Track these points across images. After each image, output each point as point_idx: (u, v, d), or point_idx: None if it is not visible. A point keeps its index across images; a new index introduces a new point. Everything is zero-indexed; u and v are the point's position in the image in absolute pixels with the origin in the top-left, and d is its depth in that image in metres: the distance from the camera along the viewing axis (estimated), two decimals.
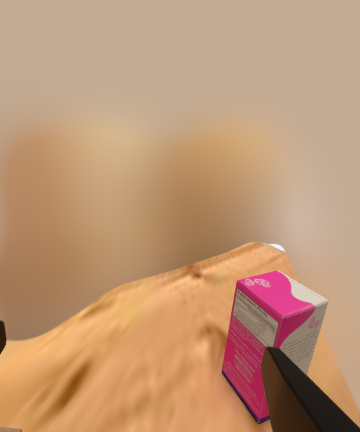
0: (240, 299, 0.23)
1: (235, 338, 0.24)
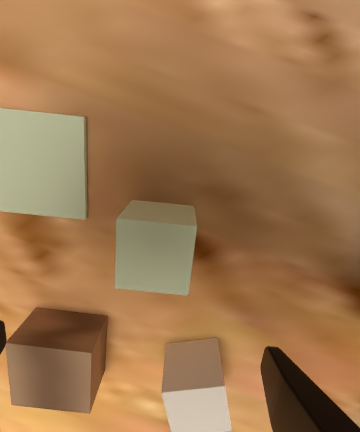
0: None
1: None
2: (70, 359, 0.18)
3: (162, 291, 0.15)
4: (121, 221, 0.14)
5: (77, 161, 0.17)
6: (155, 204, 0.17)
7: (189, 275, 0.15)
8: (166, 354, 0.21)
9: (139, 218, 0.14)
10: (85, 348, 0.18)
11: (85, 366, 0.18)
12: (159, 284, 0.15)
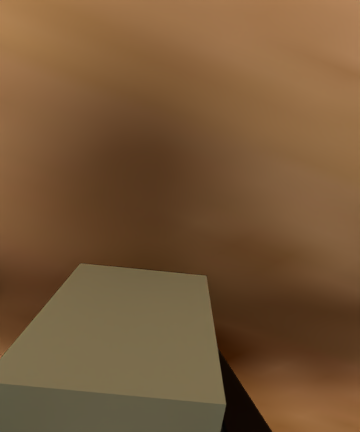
0: None
1: None
2: None
3: None
4: None
5: None
6: (124, 279, 0.08)
7: None
8: None
9: (59, 366, 0.05)
10: None
11: None
12: None
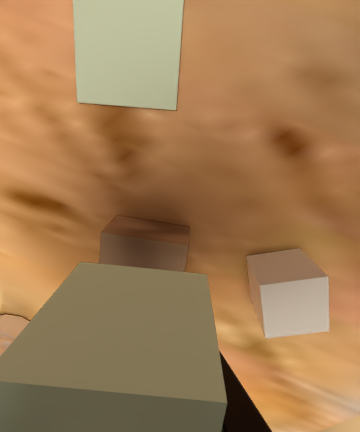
0: None
1: None
2: (166, 253, 0.17)
3: None
4: None
5: (173, 41, 0.16)
6: (125, 278, 0.08)
7: None
8: (250, 262, 0.20)
9: (59, 364, 0.05)
10: (181, 242, 0.17)
11: (180, 261, 0.17)
12: None
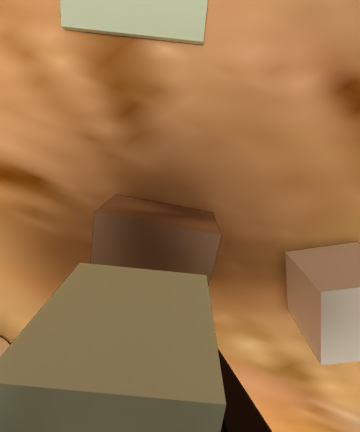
0: None
1: None
2: (188, 245, 0.12)
3: None
4: None
5: None
6: (124, 279, 0.08)
7: None
8: (294, 260, 0.15)
9: (57, 366, 0.05)
10: (209, 230, 0.12)
11: (207, 258, 0.12)
12: None
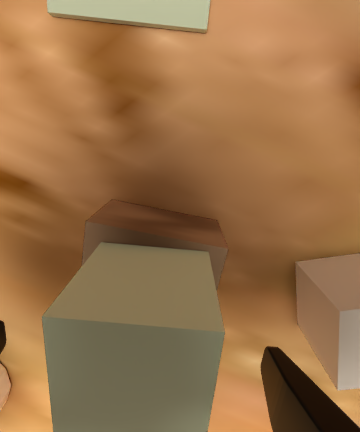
0: None
1: None
2: None
3: None
4: (54, 321, 0.06)
5: None
6: (139, 254, 0.10)
7: (206, 420, 0.07)
8: (306, 271, 0.14)
9: (97, 308, 0.07)
10: (215, 243, 0.11)
11: None
12: None
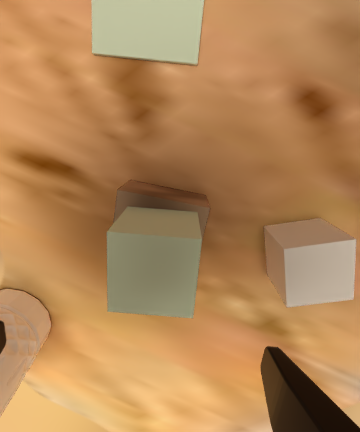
0: None
1: None
2: None
3: (163, 314, 0.13)
4: (112, 235, 0.12)
5: None
6: (153, 212, 0.15)
7: (194, 295, 0.13)
8: (269, 231, 0.19)
9: (134, 230, 0.12)
10: (201, 205, 0.16)
11: None
12: (159, 306, 0.13)
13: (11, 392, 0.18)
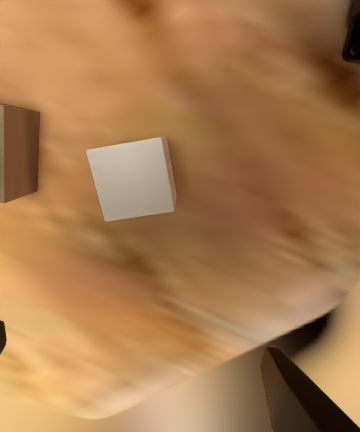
0: None
1: None
2: None
3: None
4: None
5: None
6: None
7: None
8: None
9: None
10: None
11: None
12: None
13: None
